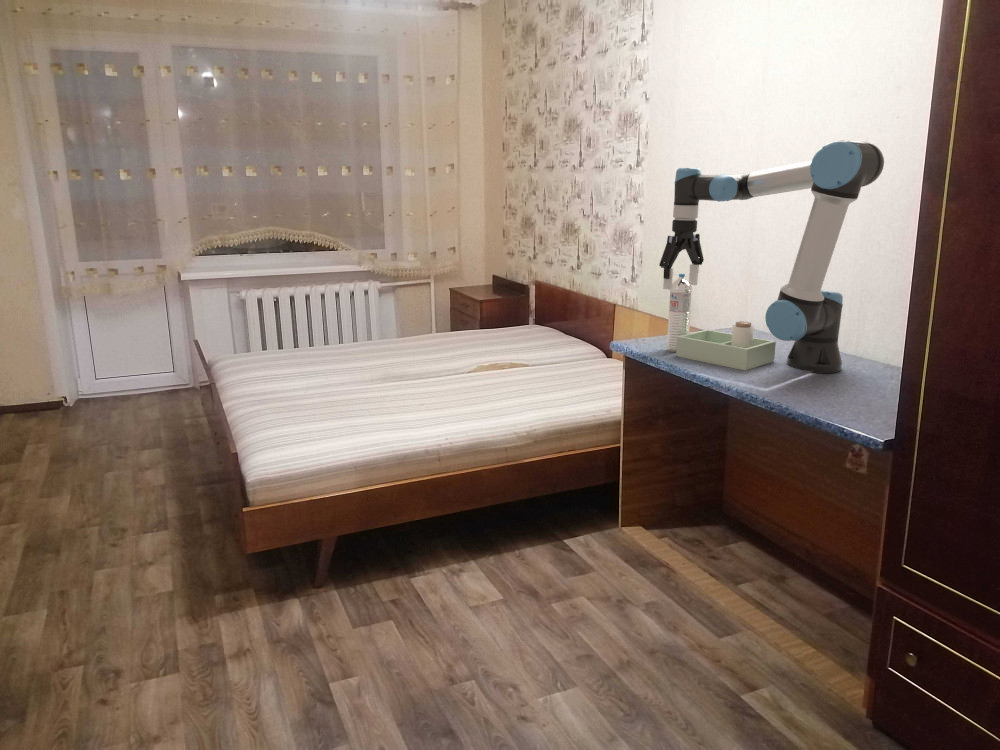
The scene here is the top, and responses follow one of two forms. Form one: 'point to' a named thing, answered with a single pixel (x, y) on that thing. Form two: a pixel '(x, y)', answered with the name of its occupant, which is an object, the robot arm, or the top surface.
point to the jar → (742, 334)
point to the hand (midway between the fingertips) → (680, 287)
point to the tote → (724, 350)
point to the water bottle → (679, 311)
